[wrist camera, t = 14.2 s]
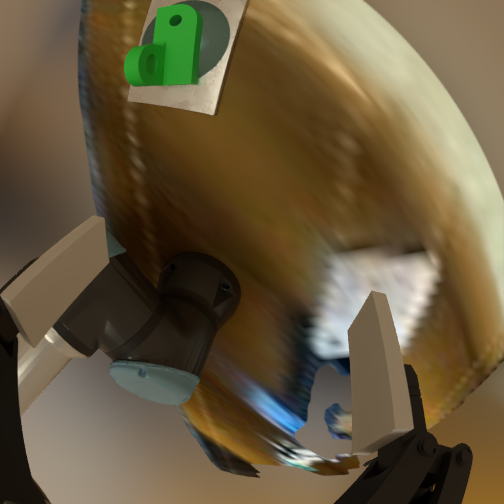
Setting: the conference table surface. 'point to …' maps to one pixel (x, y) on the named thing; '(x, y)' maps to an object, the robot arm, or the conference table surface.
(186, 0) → the carrier plate
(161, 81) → the mechanical part
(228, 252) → the conference table surface
